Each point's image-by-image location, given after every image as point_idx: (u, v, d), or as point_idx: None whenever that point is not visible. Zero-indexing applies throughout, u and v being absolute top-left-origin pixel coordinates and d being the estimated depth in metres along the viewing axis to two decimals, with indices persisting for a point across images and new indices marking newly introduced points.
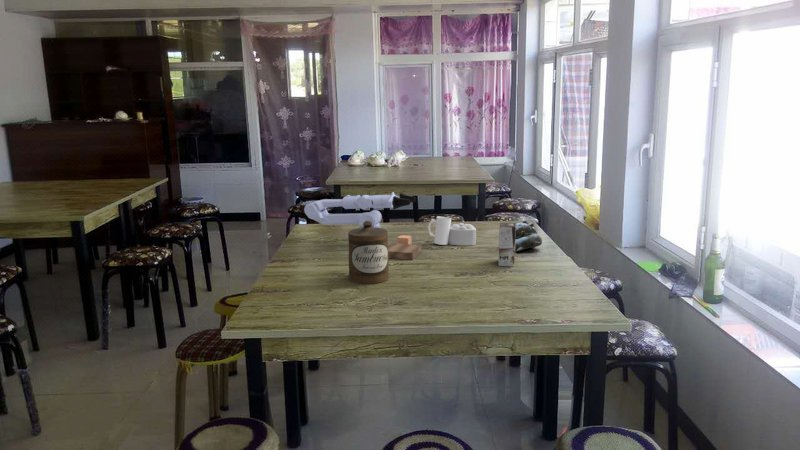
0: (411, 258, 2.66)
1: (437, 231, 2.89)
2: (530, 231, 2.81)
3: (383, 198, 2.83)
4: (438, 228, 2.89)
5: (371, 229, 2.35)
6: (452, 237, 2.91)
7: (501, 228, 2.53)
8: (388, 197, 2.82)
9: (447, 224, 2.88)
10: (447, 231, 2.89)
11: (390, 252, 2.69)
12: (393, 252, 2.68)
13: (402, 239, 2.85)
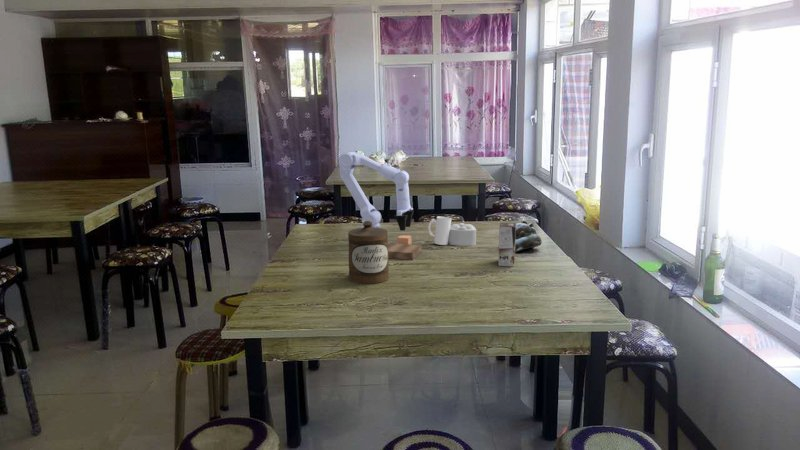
0: (411, 258, 2.66)
1: (437, 231, 2.89)
2: (529, 231, 2.80)
3: (405, 201, 2.81)
4: (438, 228, 2.89)
5: (371, 229, 2.35)
6: (451, 237, 2.90)
7: (501, 228, 2.53)
8: (406, 206, 2.82)
9: (447, 224, 2.88)
10: (447, 231, 2.89)
11: (390, 252, 2.69)
12: (393, 252, 2.68)
13: (402, 239, 2.85)
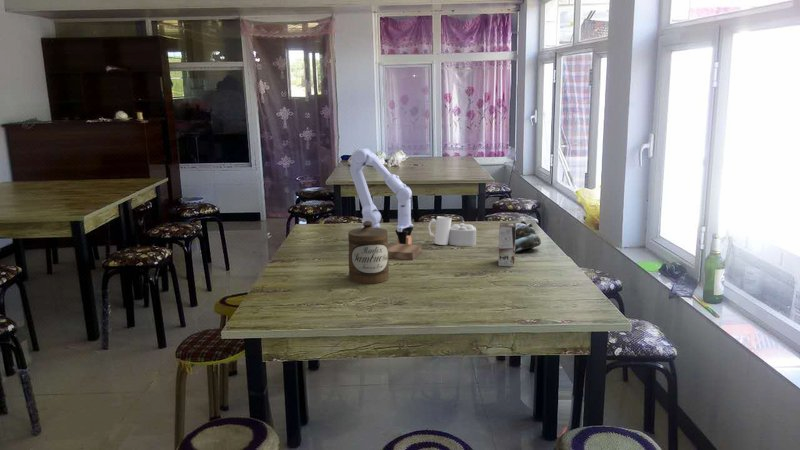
0: (411, 258, 2.66)
1: (437, 231, 2.90)
2: (529, 231, 2.80)
3: (406, 217, 2.82)
4: (438, 228, 2.89)
5: (371, 229, 2.35)
6: (451, 237, 2.90)
7: (501, 228, 2.53)
8: (407, 222, 2.83)
9: (447, 224, 2.88)
10: (447, 231, 2.89)
11: (390, 252, 2.69)
12: (393, 252, 2.68)
13: None
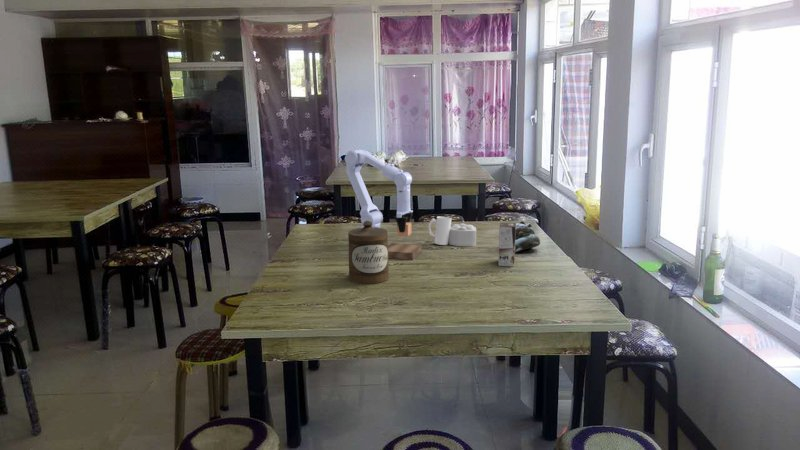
0: (411, 258, 2.66)
1: (437, 231, 2.90)
2: (528, 232, 2.80)
3: (405, 203, 2.77)
4: (438, 228, 2.89)
5: (371, 229, 2.35)
6: (451, 237, 2.90)
7: (501, 228, 2.53)
8: (406, 208, 2.78)
9: (447, 224, 2.88)
10: (447, 231, 2.89)
11: (390, 252, 2.69)
12: (393, 252, 2.68)
13: None
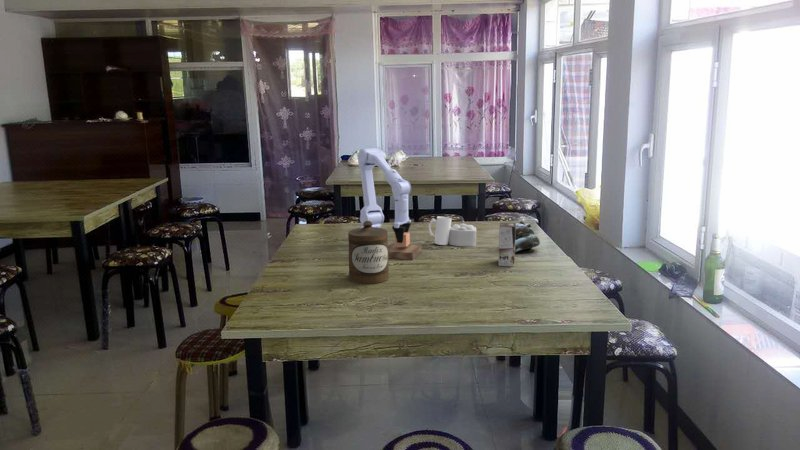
0: (411, 258, 2.66)
1: (437, 231, 2.90)
2: (527, 232, 2.79)
3: (403, 213, 2.68)
4: (437, 228, 2.89)
5: (371, 229, 2.35)
6: (451, 237, 2.90)
7: (501, 228, 2.53)
8: (404, 218, 2.69)
9: (446, 224, 2.88)
10: (446, 231, 2.89)
11: (390, 252, 2.69)
12: (393, 252, 2.68)
13: None
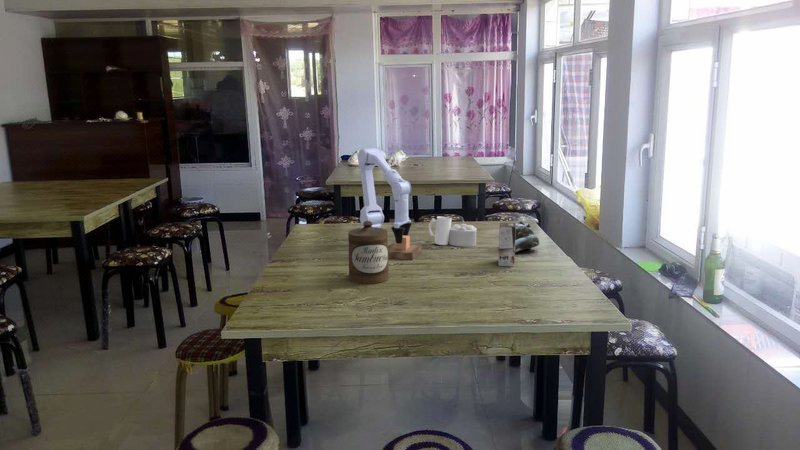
0: (411, 258, 2.66)
1: (436, 231, 2.90)
2: (527, 232, 2.79)
3: (403, 213, 2.69)
4: (437, 228, 2.89)
5: (371, 229, 2.35)
6: (451, 237, 2.90)
7: (501, 228, 2.53)
8: (404, 218, 2.69)
9: (446, 224, 2.88)
10: (446, 231, 2.89)
11: (390, 252, 2.69)
12: (393, 252, 2.68)
13: None
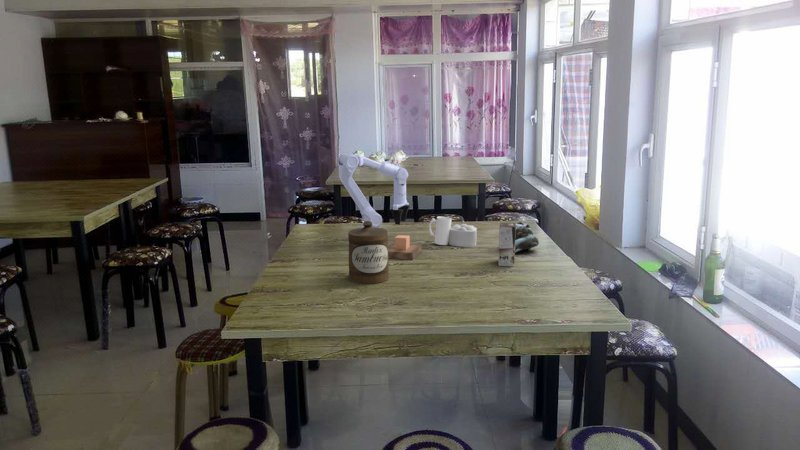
0: (411, 258, 2.66)
1: (436, 231, 2.90)
2: (526, 232, 2.79)
3: (401, 196, 2.90)
4: (437, 228, 2.89)
5: (371, 229, 2.35)
6: (451, 237, 2.90)
7: (501, 228, 2.53)
8: (402, 201, 2.90)
9: (446, 224, 2.88)
10: (446, 231, 2.89)
11: (390, 252, 2.69)
12: (393, 252, 2.68)
13: (400, 239, 2.71)
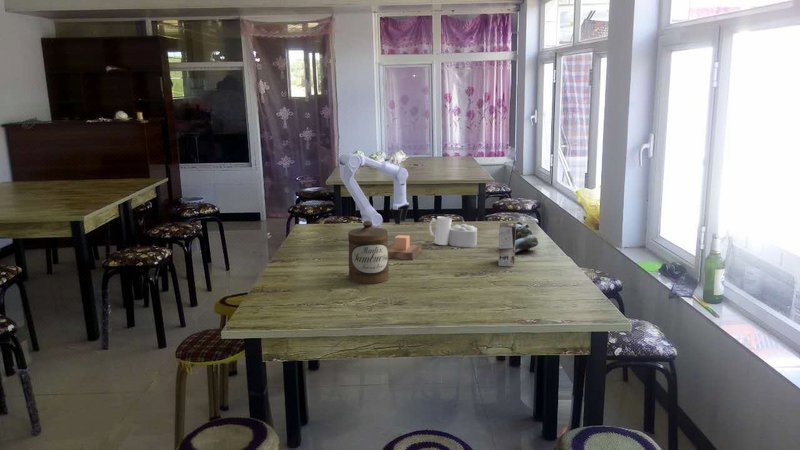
0: (411, 258, 2.66)
1: (436, 231, 2.90)
2: (526, 232, 2.78)
3: (401, 196, 2.91)
4: (437, 228, 2.89)
5: (371, 229, 2.35)
6: (451, 237, 2.89)
7: (501, 228, 2.53)
8: (402, 201, 2.91)
9: (446, 224, 2.88)
10: (446, 231, 2.88)
11: (390, 252, 2.69)
12: (393, 252, 2.68)
13: (400, 239, 2.71)
